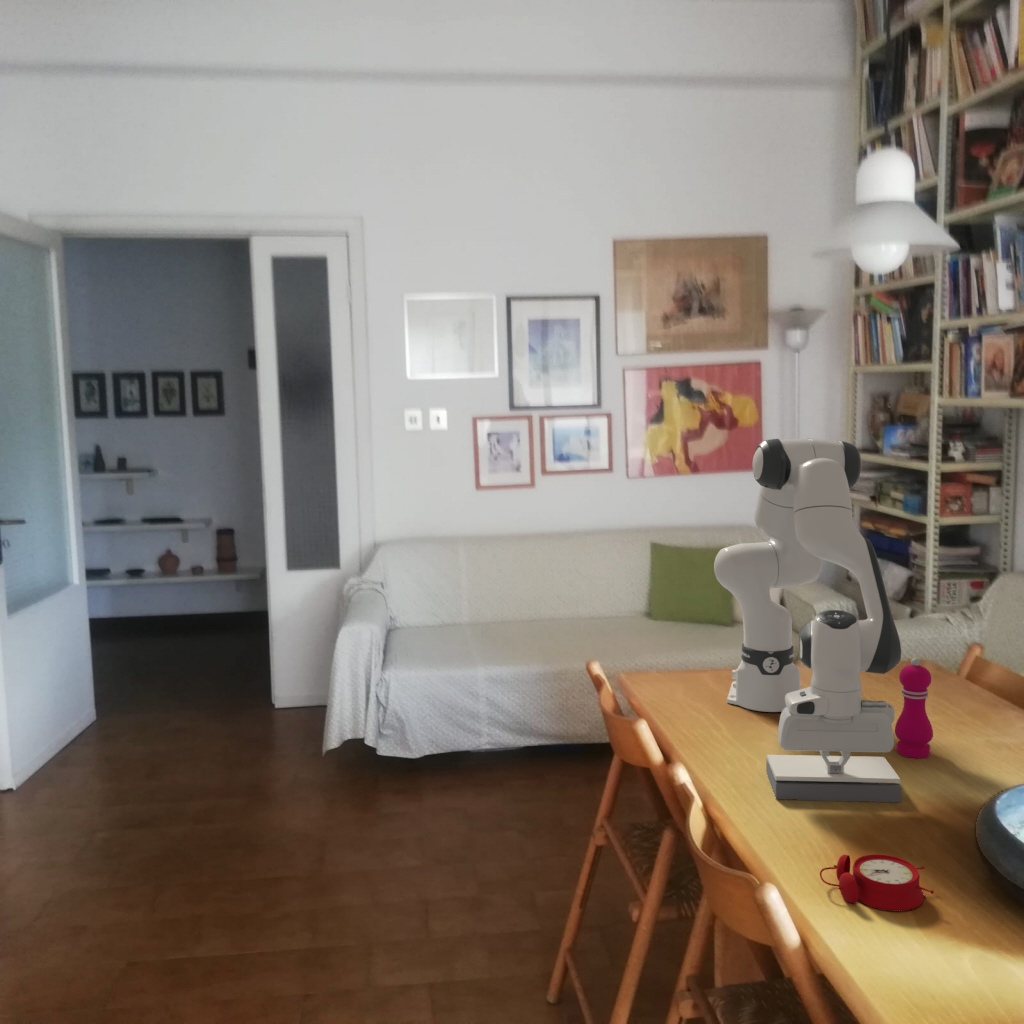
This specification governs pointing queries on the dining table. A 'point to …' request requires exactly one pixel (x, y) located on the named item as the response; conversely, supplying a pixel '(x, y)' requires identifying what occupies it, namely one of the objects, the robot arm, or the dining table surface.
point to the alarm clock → (879, 882)
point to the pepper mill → (914, 712)
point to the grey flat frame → (834, 790)
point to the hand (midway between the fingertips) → (834, 772)
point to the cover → (816, 771)
